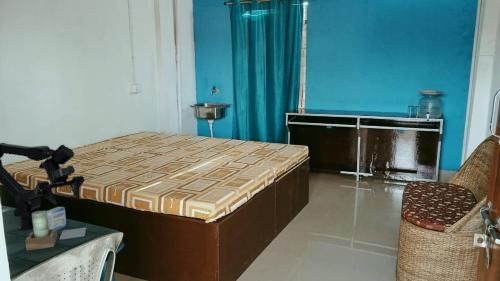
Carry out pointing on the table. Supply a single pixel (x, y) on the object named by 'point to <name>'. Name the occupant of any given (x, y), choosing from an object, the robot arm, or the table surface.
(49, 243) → the pocket frame
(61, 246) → the table surface
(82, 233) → the slate pad
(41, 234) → the pale green cylinder
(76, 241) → the table surface
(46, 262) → the table surface
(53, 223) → the medicine box
